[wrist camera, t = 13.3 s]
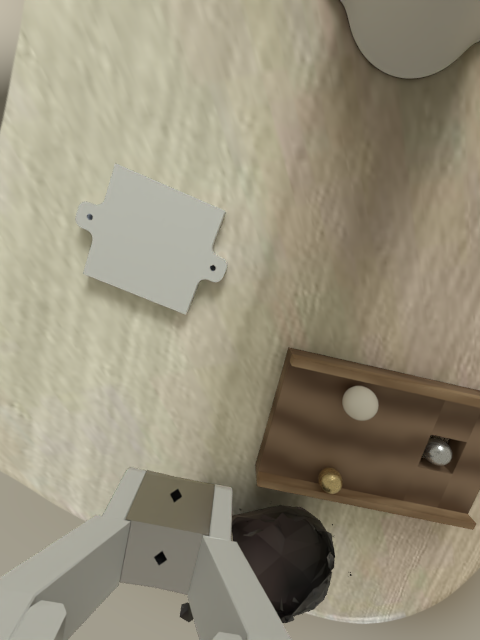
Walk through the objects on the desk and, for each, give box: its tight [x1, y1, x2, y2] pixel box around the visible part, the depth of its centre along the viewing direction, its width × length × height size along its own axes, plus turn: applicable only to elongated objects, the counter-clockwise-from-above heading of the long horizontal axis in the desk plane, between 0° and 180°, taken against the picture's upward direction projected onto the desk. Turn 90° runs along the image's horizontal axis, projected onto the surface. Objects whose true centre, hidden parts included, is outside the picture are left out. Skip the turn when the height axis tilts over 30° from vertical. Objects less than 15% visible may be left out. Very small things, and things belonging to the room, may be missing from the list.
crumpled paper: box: [180, 501, 351, 623], centre depth 37 cm, size 14×15×20 cm
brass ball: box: [318, 467, 343, 494], centre depth 37 cm, size 3×3×3 cm
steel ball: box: [423, 438, 452, 466], centre depth 39 cm, size 3×3×3 cm
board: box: [256, 348, 480, 529], centre depth 38 cm, size 18×30×4 cm, turn 77°
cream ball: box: [342, 386, 379, 421], centre depth 35 cm, size 4×4×4 cm
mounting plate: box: [75, 163, 227, 315], centre depth 34 cm, size 18×13×2 cm
